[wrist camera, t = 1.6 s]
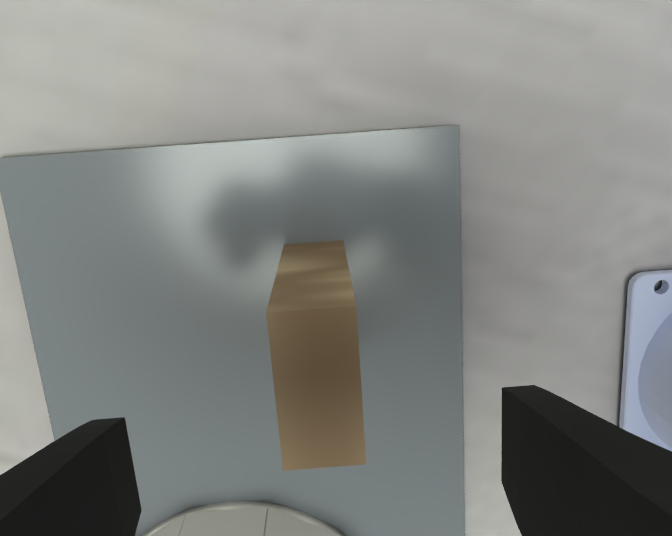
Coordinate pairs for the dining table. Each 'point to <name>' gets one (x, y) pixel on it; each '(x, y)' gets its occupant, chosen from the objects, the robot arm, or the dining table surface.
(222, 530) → the plate
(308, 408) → the tan cardboard box
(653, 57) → the dining table surface
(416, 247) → the slate board
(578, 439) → the robot arm
